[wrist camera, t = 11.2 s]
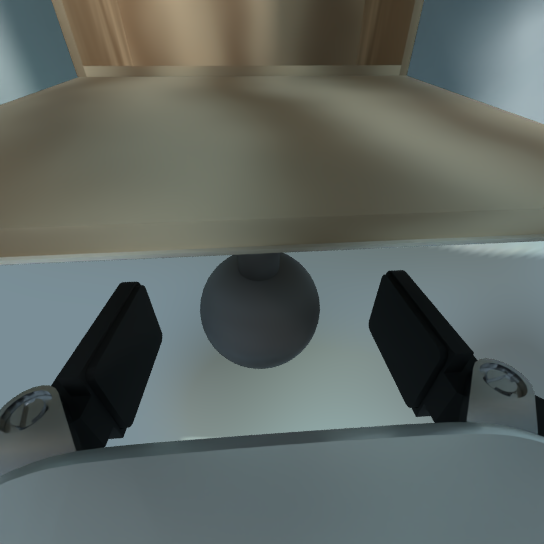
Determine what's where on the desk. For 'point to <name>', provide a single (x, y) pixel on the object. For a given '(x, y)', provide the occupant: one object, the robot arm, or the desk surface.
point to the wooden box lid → (260, 183)
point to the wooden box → (239, 37)
